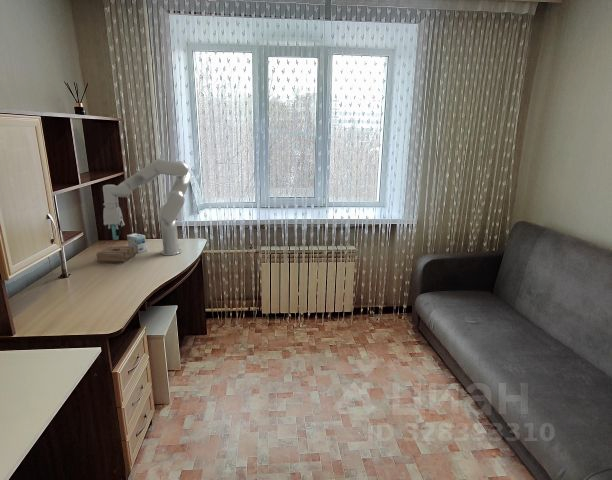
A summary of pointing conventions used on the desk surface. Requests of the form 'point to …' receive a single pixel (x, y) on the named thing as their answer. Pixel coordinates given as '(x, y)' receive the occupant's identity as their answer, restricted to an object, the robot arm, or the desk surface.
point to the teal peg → (114, 232)
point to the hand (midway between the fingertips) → (115, 234)
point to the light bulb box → (137, 242)
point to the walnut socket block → (116, 254)
